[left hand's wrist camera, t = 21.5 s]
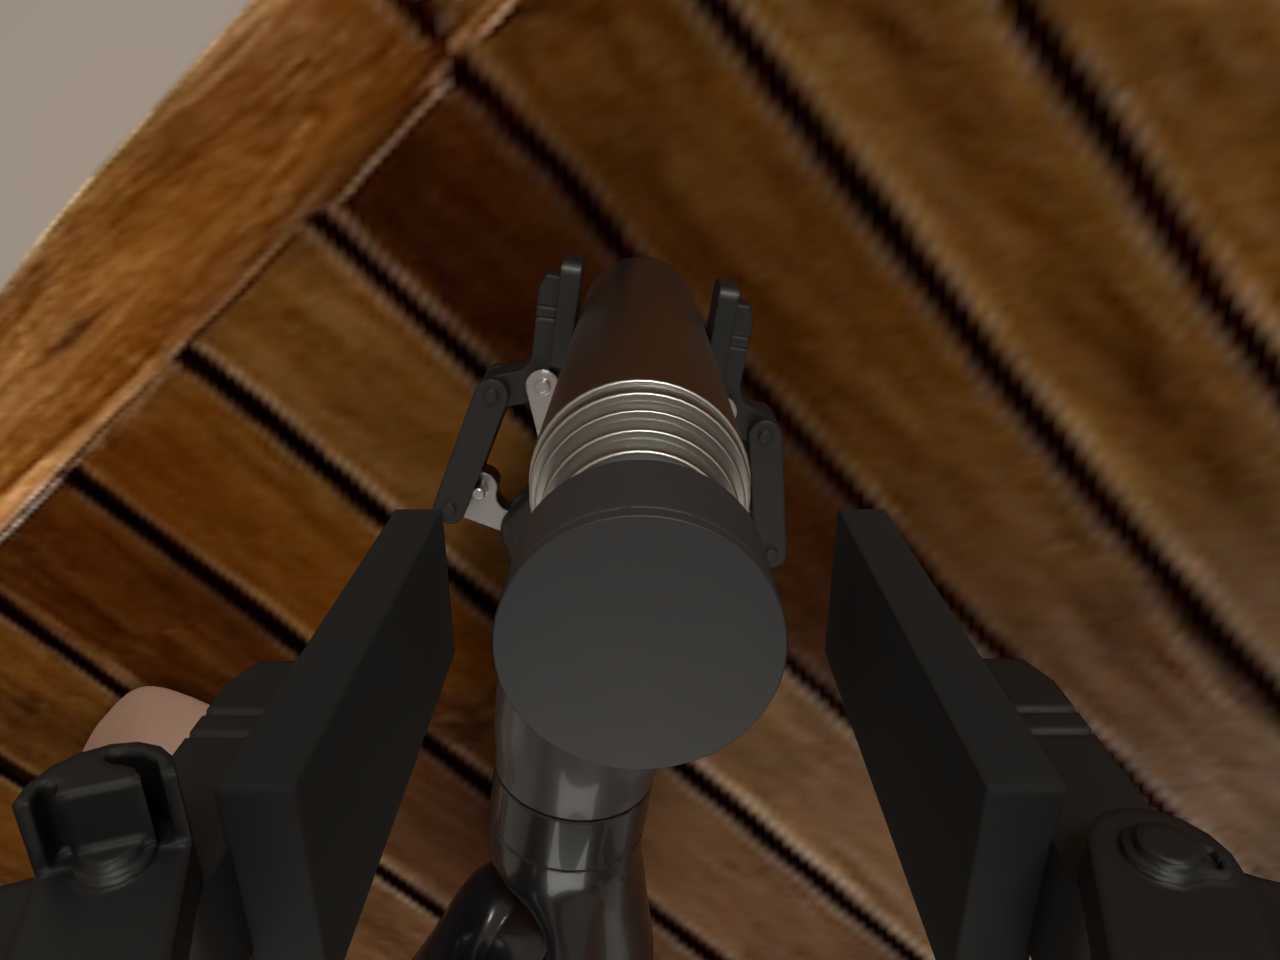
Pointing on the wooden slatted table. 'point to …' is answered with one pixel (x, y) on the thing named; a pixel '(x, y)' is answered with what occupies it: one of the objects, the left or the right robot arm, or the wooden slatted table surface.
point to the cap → (639, 618)
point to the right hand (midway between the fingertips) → (650, 272)
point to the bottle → (639, 386)
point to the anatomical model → (149, 719)
